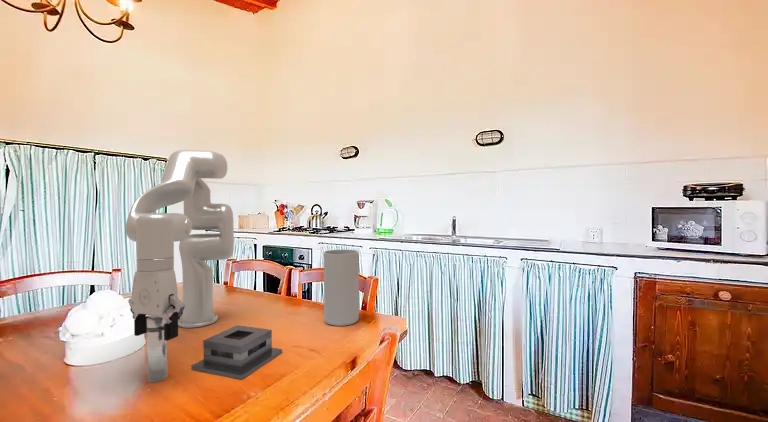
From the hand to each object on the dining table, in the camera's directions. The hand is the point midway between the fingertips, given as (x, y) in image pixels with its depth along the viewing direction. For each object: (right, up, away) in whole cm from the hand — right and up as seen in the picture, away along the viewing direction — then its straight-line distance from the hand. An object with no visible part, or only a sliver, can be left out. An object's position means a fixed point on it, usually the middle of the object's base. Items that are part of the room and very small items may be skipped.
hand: (156, 336), depth 83 cm
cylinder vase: (+40, -10, +42) cm, 58 cm away
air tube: (0, -10, +1) cm, 10 cm away
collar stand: (+16, -10, +10) cm, 21 cm away
